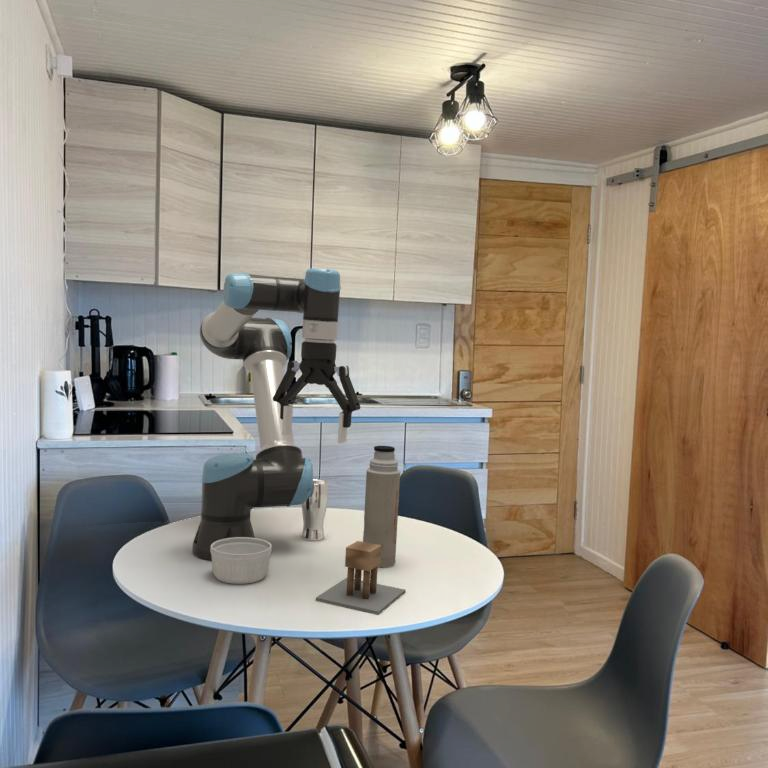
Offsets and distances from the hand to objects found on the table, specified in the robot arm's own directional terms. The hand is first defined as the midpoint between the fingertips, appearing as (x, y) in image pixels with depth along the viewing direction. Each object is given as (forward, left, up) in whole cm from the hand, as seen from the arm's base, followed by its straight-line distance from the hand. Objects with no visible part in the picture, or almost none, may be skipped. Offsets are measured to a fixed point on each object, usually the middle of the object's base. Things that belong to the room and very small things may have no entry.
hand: (313, 438), depth 156 cm
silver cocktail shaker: (-14, +27, -31) cm, 43 cm away
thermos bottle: (+9, +18, -31) cm, 37 cm away
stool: (+15, -4, -30) cm, 34 cm away
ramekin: (-13, -7, -31) cm, 34 cm away
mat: (+15, -4, -31) cm, 35 cm away
